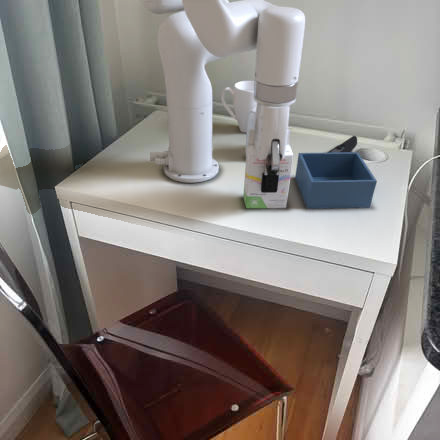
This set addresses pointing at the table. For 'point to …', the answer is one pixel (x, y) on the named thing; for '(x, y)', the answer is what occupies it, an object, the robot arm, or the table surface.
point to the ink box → (254, 178)
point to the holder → (334, 180)
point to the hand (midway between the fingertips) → (266, 183)
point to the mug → (241, 102)
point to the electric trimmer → (345, 146)
